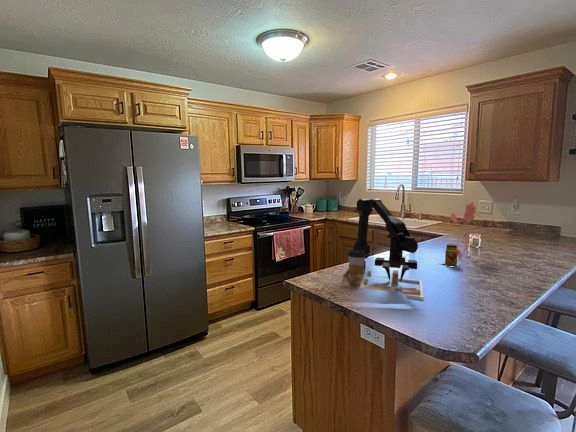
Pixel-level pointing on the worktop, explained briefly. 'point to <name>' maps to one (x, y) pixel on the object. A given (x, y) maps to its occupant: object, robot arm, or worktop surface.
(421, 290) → the lane tray
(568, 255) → the worktop surface
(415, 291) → the reddish brown block
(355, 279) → the walnut cube
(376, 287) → the tan long flat piece
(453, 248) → the condiment
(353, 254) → the coffee cup
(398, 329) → the worktop surface
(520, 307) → the worktop surface
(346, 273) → the tan rectangular frame
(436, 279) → the worktop surface
